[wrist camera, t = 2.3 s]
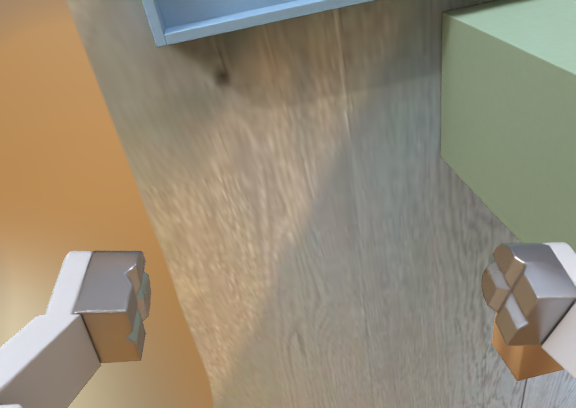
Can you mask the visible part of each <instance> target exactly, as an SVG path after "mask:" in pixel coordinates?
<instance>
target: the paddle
mask: <svg viewBox="0 0 576 408" xmlns="http://www.w3.org/2000/svg"><path fill="white" fill-rule="evenodd" d="M496 316H497V312H495V319H496ZM492 344H493V346H494V347H495V349H496V350H497V352H498V353H499V355H500V356H501V358H502V359H503V361H504V362H505V364H506V365H507V367H508V368H509V370H510V371H511V373H512V374H513V376H514V377H515V379H516V380H517V381H520V380H524V379H528V378H531V377H535V376H539V375H543V374H547V373H551V372H555V371H559V370H563V369H564V368H563V367H561V366H560V365H559V364H558V363H557V362H556V361H555V360H554V359H553V358H552V357H551V356H550V355H549V354H548V353H547V352H545V351H544V350H543V349H542V348H541V346H542V345H538V346H506V344H505V342H504V339H503V337H502V335H501V333H500V331H499V329H498V327H497V325H496V322H495V321H494V330H493V339H492Z"/></svg>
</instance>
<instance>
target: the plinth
mask: <svg viewBox="0 0 576 408" xmlns="http://www.w3.org/2000/svg"><path fill="white" fill-rule="evenodd" d="M441 158H442V159H443V160H444V161H445V162H446V163H447V164H448V165H449V166H450V167H451V168H452V169H453V171H454V172H455V173H456V174H457V175H458V176H459V177H460V178H461V179H462V180H463V181H464V182H465V183H466V184H467V185H468V186H469V188H470V189H471V190H472V191H473V192H474V193H475V194H476V195H477V196H478V197H479V198H480V199H481V200H482V201H483V202H484V203H485V205H486V206H487V207H488V208H489V209H490V210H491V211H492V212H493V213H494V214H495V215H496V216H497V217H498V218H499V219H500V220H501V222H502V223H503V224H504V225H505V226H506V227H507V228H508V229H509V230H510V231H511V232H512V233H513V234H514V235H515V236H516V237H517V238H518V240H519V241H520V242H521V243H539V242H540V243H549V242H565V243H567V244H568V245H569V246H571V248H572V249H573V251H574V252H575V253H576V0H496V1H492V2H487V3H483V4H478V5H473V6H469V7H464V8H460V9H455V10H451V11H446V12H442V78H441Z"/></svg>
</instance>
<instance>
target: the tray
mask: <svg viewBox="0 0 576 408" xmlns="http://www.w3.org/2000/svg"><path fill="white" fill-rule="evenodd" d="M370 1H374V0H142V3H143V6H144V9H145V12H146V15H147V18H148V21H149V25H150V28H151V31H152V34H153V37H154V40H155V43H156V46H157V47H161V46H166V45H171V44H176V43H180V42H185V41H189V40H194V39H199V38H203V37H208V36H213V35H217V34H222V33H226V32H231V31H236V30H240V29H245V28H250V27H254V26H259V25H263V24H268V23H273V22H277V21H282V20H286V19H291V18H296V17H300V16H305V15H310V14H314V13H319V12H323V11H328V10H333V9H337V8H342V7H347V6H351V5H356V4H360V3H365V2H370Z"/></svg>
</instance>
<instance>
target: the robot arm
mask: <svg viewBox="0 0 576 408" xmlns="http://www.w3.org/2000/svg"><path fill="white" fill-rule="evenodd" d="M493 256H494V258H495V260H496V261H494V262H493V263H491V264H490V265H488V266H487V267H486V269H485V271H484V273H483V275H482V292H483V296H484V298H485V301H486V303H487V305H488V306H489V307H491V308H492V309H493V310H494V311H496V312H497V316H496V319H495V322H496V325H497V327H498V329H499V331H500V333H501V335H502V337H503V339H504V342H505V344H506V346H538V345H542V346H541V348H542V349H543V350H544V351H545V352H547V353H548V354H549V355H550V356H551V357H552V358H553V359H554V360H555V361H556V362H557V363H558V364H559V365H560V366H561V367H563V368H564V369H565V370H566V371H567V372H568V373H569V374H570V375H571V376H572V377H573V378H574V379H575V380H576V253H575V252H574V251H573V249H572V248H571V246H569V245H568V244H567V243H565V242H549V243H540V242H539V243H507V244H501V245H499V246H498V247H497V248H496V250H495V251H494V253H493ZM145 262H146V261H145V258H144V254H143V252H142V251H70V252H69V253H68V254H67V256H66V257H65V259H64V262H63V264H62V267H61V270H60V273H59V276H58V278H57V282H56V284H55V287H54V290H53V293H52V295H51V298H50V301H49V304H48V307H47V310H46V312H45V315H37V316H36V317H35V318H34V319H32V320H31V321H30V322H29V323H28V324H27V325H26V326H24V327H23V328H22V329H21V330H20V331H19V332H17V334H15V335H14V336H13V337H12V338H11V339H9V340H8V341H7V342H6V343H5V344H4V345H3V346H1V347H0V408H68V406H69V405H70V404H71V402H72V401H73V400H74V399H75V397H76V396H77V395H78V394H79V392H80V391H81V390H82V389H83V387H84V386H85V385H86V384H87V382H88V381H89V380H90V379H91V377H92V376H93V375H94V374H95V372H96V371H97V370H98V368H99V367H100V366H101V364H100V363H110V362H126V361H140V360H141V358H142V352H143V346H144V340H145V334H146V333H145V329H144V324H143V321H144V320H145V319H146V318H147V317H148V316H149V309H150V297H151V288H150V280H149V275H148V274H147V273H145V272H144V268H145Z"/></svg>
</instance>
